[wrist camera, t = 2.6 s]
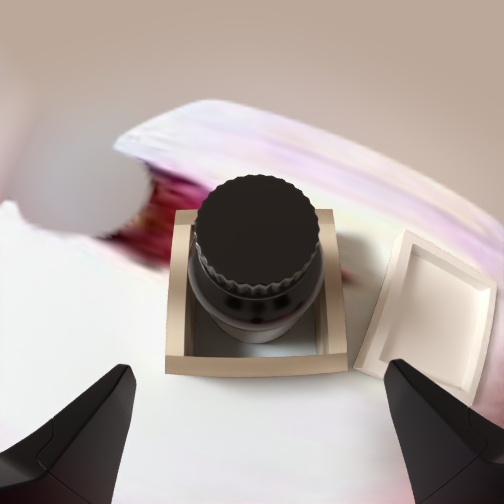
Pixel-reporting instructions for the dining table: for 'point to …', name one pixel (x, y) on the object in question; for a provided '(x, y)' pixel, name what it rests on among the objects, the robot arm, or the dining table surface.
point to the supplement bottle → (256, 257)
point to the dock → (431, 317)
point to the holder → (184, 362)
